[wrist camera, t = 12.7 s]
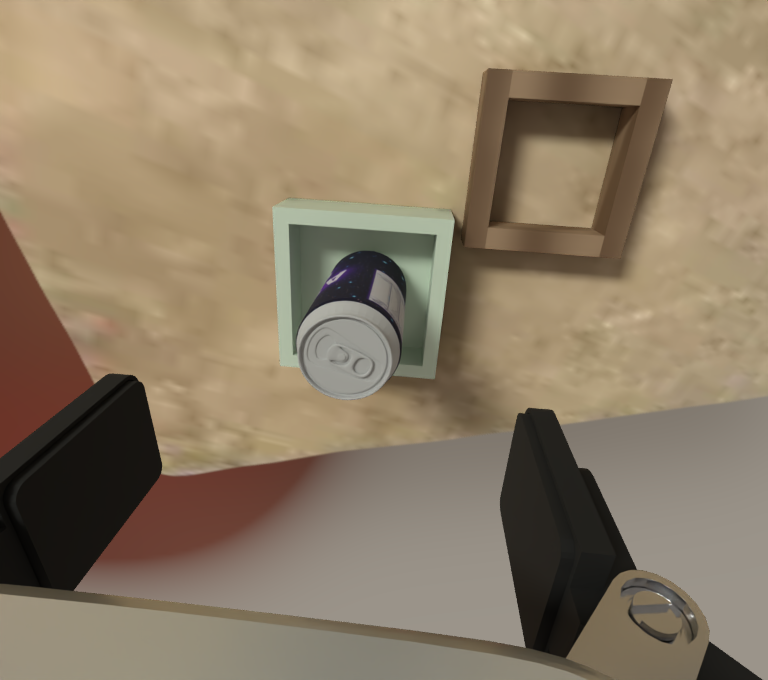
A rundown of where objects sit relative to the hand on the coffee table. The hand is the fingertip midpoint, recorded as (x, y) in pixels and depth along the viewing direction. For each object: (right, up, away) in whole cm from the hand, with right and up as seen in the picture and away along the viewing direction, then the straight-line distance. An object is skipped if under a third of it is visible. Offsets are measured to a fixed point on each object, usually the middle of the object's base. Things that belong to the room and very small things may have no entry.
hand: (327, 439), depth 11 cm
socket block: (+12, +14, +19) cm, 27 cm away
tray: (0, +7, +23) cm, 24 cm away
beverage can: (0, +7, +22) cm, 23 cm away
